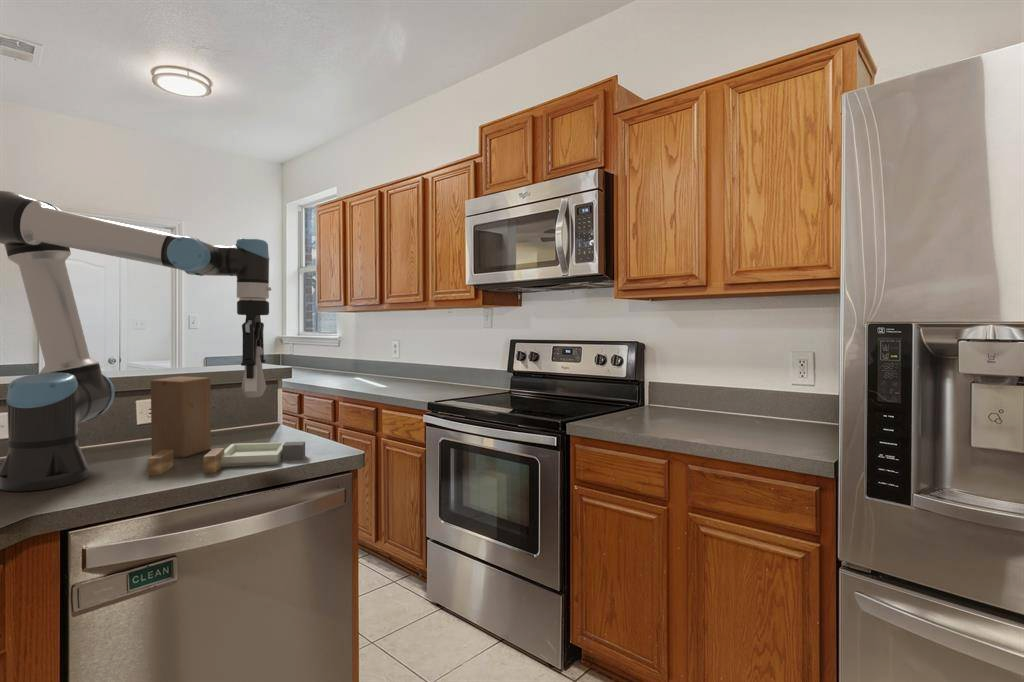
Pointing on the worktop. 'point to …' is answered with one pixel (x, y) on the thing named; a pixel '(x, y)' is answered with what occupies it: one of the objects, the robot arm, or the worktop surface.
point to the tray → (252, 454)
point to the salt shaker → (260, 378)
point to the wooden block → (181, 415)
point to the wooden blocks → (165, 461)
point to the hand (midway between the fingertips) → (253, 389)
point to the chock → (293, 450)
